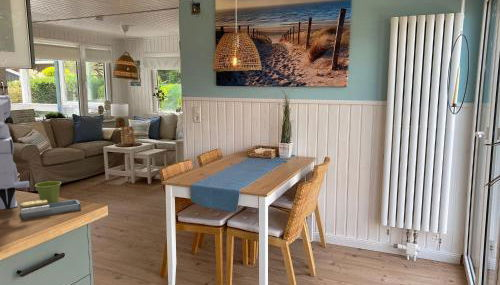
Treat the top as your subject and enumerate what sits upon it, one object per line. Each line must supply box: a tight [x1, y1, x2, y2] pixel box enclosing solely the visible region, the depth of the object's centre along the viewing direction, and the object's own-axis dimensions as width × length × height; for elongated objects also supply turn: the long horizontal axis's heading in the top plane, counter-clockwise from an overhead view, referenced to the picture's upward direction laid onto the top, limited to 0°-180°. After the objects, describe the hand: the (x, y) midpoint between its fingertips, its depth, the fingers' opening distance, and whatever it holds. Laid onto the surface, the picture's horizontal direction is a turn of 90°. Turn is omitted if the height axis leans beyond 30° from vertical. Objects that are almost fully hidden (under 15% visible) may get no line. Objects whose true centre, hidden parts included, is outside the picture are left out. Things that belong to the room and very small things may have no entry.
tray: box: [48, 198, 82, 215], centre depth 151 cm, size 8×11×2 cm
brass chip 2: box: [34, 199, 48, 207], centre depth 147 cm, size 4×4×2 cm
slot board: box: [19, 203, 51, 220], centre depth 146 cm, size 9×9×4 cm
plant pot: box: [34, 180, 62, 203], centre depth 156 cm, size 9×9×9 cm
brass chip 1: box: [21, 200, 35, 209], centre depth 144 cm, size 4×4×2 cm
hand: (8, 208), depth 141 cm, fingers closed
